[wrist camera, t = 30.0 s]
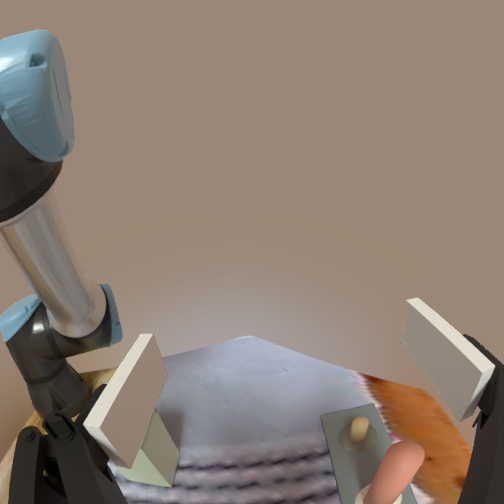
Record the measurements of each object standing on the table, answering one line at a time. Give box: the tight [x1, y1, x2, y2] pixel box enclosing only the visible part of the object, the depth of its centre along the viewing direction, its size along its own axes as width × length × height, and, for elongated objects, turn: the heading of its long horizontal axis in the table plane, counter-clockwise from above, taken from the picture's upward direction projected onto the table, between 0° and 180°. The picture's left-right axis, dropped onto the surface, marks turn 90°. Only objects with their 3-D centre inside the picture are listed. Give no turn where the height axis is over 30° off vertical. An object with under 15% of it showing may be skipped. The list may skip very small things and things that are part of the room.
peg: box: [363, 441, 424, 504], centre depth 17 cm, size 4×4×12 cm
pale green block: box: [109, 408, 180, 488], centre depth 28 cm, size 7×7×11 cm
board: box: [321, 403, 418, 504], centre depth 24 cm, size 24×9×4 cm, turn 0°
